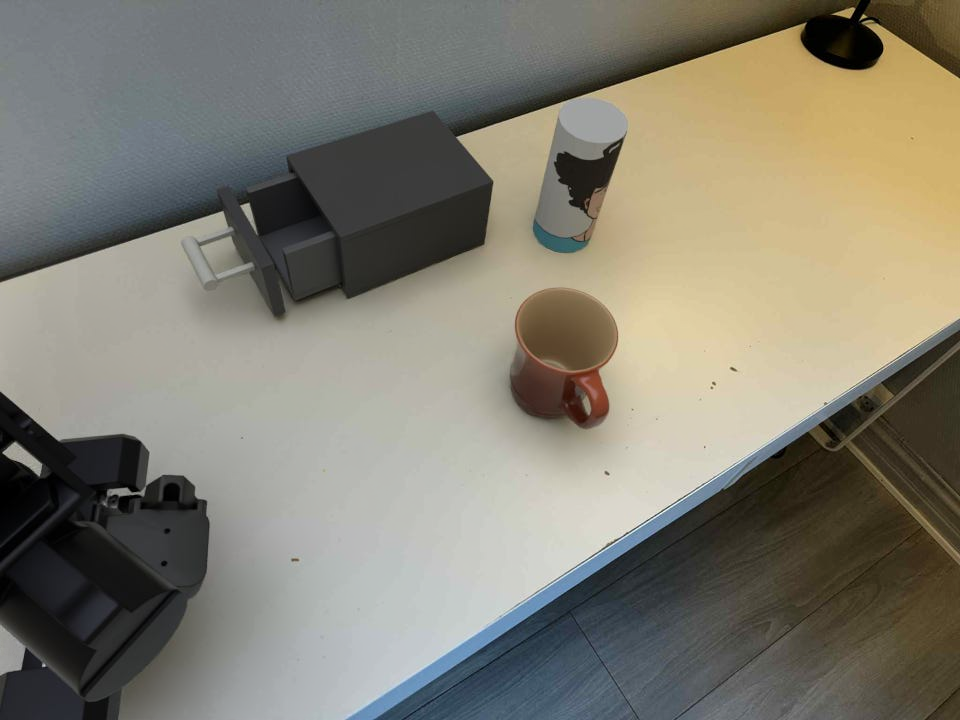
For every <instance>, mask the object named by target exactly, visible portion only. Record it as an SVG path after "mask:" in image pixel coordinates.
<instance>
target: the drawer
mask: <svg viewBox="0 0 960 720" xmlns="http://www.w3.org/2000/svg"><path fill="white" fill-rule="evenodd" d="M245 193H246V196H247V200H248V203H249V209H250V211H251V214H252V215H251V216H252V218H253V219H252V220H253V224H254V226H255V229H254V227H253V225H252V223H251V222H250V220H249V218H248V216H247V215H246V213H245V211H244V209H243V208H242V206H241V204H240V203H239V201H238V200H237V198H236V196H235V194H234V192H233V191H232V189H231V188H230V186H228V185H227V186H224V187H220V188H217V189H216V194H217V196H218V200H219V203H220V206H221V209H222V213H223V215H224V218H225V221H226V225H227V227H226V228H224V229H221V230H218V231H215V232H211V233H209V234H205V235H202V236H200V237H197V238H196V237H194V236H193V235H192V236H191V235H188V236H185V237H183V238H182V239H181V241H180V245H181V247H182V249H183V251H184V253H185V255H186V257H187V259H188V262H189V263H190V264H191V266H192V268H193V271H194V272H195V275H196V277H197V278H198V280H199V282H200V284H201V286H202V289H203V290H204V291H206V292H213V291H215V290H217V289H218V287H219V286H220V283H224V282H227V281H229V280H232V279H234V278H238V277H239V276H242V275H245V274H250V276H251V278H252V279H253V281H254V283H255V285H256V287H257V288H258V290H259V292H260V294H261V296H262V298H263V299H264V301H265V303H266V304H267V306H268V308H269V310H270V312H271V313H272V315H273V317H274V318H275V317H278V316H281V315H283V314H286V312H287V310H286V307H285V303H284V299H283V294H282V291H281V287H280V286H281V285H280V283H279V278H278V275H277V271H278V273H279V275H280V276H281V278H282V280H283V282H284V283H285V285H286V287H287V289H288V290H289V292H290V294H291V296H292V297H293V299H294V300H295V301H297V300H301V299H303V298H306V297H309V296H310V295H311V296H312V295H313V294H316V293H318V292H321V291H324V290H326V289H328V288H329V289H330V288H331V287H334V286H336V285H338V284H339V283H342V282H343V281H342V273H341V264H340V256H339V248H338V240H337V237H336V235H335V234H334V232H333V231H332V229H331V227H330V226H329V224H328V223H327V221H326V220H325V218H324V217H323V215H322V214H321V212H320V211H319V209H318V208H317V206H316V205H315V203H314V202H313V200H312V199H311V197H310V196H309V194H308V193H307V191H306V190H305V188H304V187H303V185H302V184H301V182H300V180H299V179H298V177H297V176H296V174H295V173H291V174H289V173H288V174H285V175H281V176H278V177H275V178H271V179H269V180H265V181H262V182H259V183H257V184H253V185H250V186H247V187H245ZM229 237H230V239H231V241H232V243H233V246H234V247H235V249H236V251H237V252H238V254H239V256H240V258H241V260H242V261H243V263H244V264H242V265H239V266H236V267H234V268H230V269H227V270H225V271H222V272H219V273H217V274H215V273H214V271H213V269H212V267H211V265H210V263H209V261H208V260H207V257H206V256H205V254H204V252H203V250H202V248H201V247H203V246H206V245H209V244H211V243H214V242H217V241H220V240H223V239H226V238H229ZM276 270H277V271H276Z"/></svg>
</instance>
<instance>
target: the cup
mask: <svg viewBox="0 0 960 720" xmlns="http://www.w3.org/2000/svg"><path fill="white" fill-rule="evenodd" d="M628 131H629V121H628V119H627V116H626V114H625V113H624V112H623V111H622V110H621V109H620V108H619V107H617V106H616V105H614V104H613V103H612V102H608V101H606V100H604V99H601V98H595V97H587V96H586V97H576V98H573V99H570V100H568V101H566V102H565V103H563V104H562V106H561V107H560V109H559V110H558V115H557V119H556V123H555V128H554V133H553V136H552V141H551V146H550V149H549V153H548V157H547V162H546V167H545V171H544V177H543V179H542V184H541V189H540V192H539V197H538V201H537V206H536V210H535V214H534V219H533V222H532V223H533V224H532V231H533V235H534V237H535V238H536V240H537V241H538V243H539V244H541V245H542V246H544V247H545V248H547V249H549V250H551V251H553V252H556V253H564V254H567V253H575V252H578V251H581V250H583V249H584V248H586V247H587V245H588V244H589V242H590V241H591V239H592V236H593V233H594V230H595V227H596V224H597V221H598V218H599V214H600V212H601V209H602V206H603V203H604V200H605V198H606V195H607V191H608V189H609V185H610V183H611V180H612V177H613V174H614V171H615V169H616V165H617V163H618V160H619V157H620V154H621V151H622V148H623V145H624V141H625V140H626V136H627V133H628Z"/></svg>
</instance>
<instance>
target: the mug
mask: <svg viewBox="0 0 960 720" xmlns="http://www.w3.org/2000/svg"><path fill="white" fill-rule="evenodd" d="M514 332H515V333H514V334H515V337H516V340H517V346H516V349H515V351H514V356H513V359H512V362H511V364H510V368H509V381H510V382H509V383H510V385H509V386H510V392H511V394H512V397H513V399H514V400H515V402H516V403H517V405H518V406H519V407H520V408H521V409H522V410H523V411H525V412H526V413H528V414H529V415H532V416H534V417H537V418H540V419H545V420H555V419H560V418H563V417H565V416H566V417H567V418H568V419H569V420H570V421H571V422H573V423H574V425H575V426H576V427H578V428H580V429H583V430H591V429H594V428H597V427H599V426H601V425H602V424H603V423H604V422H605V421H606V420H607V417H608V416H609V413H610V406H611V405H610V399H609V395H608V393H607V390H606V389H605V387H604V383H603V380H602V379H603V378H602V377H601V374H600V370H601V369H602V368H604V367H605V366H606V365H607V364H608V363H609V362H610V361H611V359H612V358H613V356H614V354H615V352H616V351H617V347H618V344H619V330H618V325H617V322H616V320H615V318H614V316H613V315H612V313H611V312H610V310H609V309H608V308H607V307H606V306H605V304H603V303H602V302H601V301H600V300H599V299H597V298H596V297H594V296H592V295H591V294H589V293H586V292H585V291H581V290H578V289H574V288H569V287H550V288H545V289H542V290H539V291H537V292H534V293H533V294H531V295H530V296H528V297H527V298H526V299H525V300H524V301H523V302H522V303H521V305H520V306H519V308H518V309H517V311H516V315H515V319H514ZM586 397H587V399H588V401H589V404H590V405H589V406H590V412H589V413H588V412H587V410H586V408H585V405H584V400H585V398H586Z"/></svg>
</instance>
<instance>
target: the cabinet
mask: <svg viewBox="0 0 960 720" xmlns="http://www.w3.org/2000/svg"><path fill="white" fill-rule="evenodd" d="M285 158H286V163H287V168H288V174H291V173H295V174H296V176H297V177H298V179H299V180H300V182H301V184H302V185H303V187H304V188H305V190H306V191H307V193H308V194H309V196H310V197H311V199H312V200H313V202H314V203H315V205H316V206H317V208H318V209H319V211H320V212H321V214H322V215H323V217H324V218H325V220H326V221H327V223H328V224H329V226H330V227H331V229H332V231H333V232H334V234H335V235H336V237H337V240H338V248H339V256H340V264H341V273H342V281H343V282H342V283H339V284H337V286H339V288H340V290H341V291H342V293H343V295H344V296H345V298H346V299H347V300H349V299H351V298H353V297H356V296H359V295H361V294H363V293H366V292H368V291H371V290H374V289H376V288H379V287H381V286H383V285H386V284H388V283H392V282H394V281H396V280H398V279H401V278H403V277H406V276H409V275H410V274H414V273H416V272H419V271H421V270H423V269H426V268H429V267H431V266H433V265H436V264H438V263H440V262H443V261H446V260H448V259H450V258H453V257H456V256H458V255H460V254H463V253H466V252H468V251H470V250H473V249H475V248H477V247H480V246H483V245H484V244H485V243H486V242H485V241H486V235H487V230H488V223H489V215H490V210H491V204H492V203H491V202H492V195H493V190H494V189H493V188H494V182H495V181H494V179H492V178H491V176H490V175H489V174H488V172H487V171H486V170H485V169H484V168H483V167H482V166H481V165H480V164H479V162H478V161H477V160H476V159H475V157H473V155H472V154H471V152H469V151H468V149H467V148H466V147H465V146H464V145H463V143H462V142H461V141H460V140H459V139H458V138H457V136H456V135H455V134H454V133H453V132H452V131H451V130H450V129H449V127H448V126H447V125H446V124H445V122H444V121H443V120H442V119H441V118H440V116H439V115H438V114H437V113H436V111H434V110H430V111H426V112H424V113H423V112H422V113H420V114H417V115H414V116H409V117H408V118H403V119H401V120H398V121H394V122H391V123H388V124H384V125H381V126H377V127H375V128H371V129H368V130H364V131H362V132H358V133H355V134H352V135H348V136H345V137H342V138H339V139H336V140H332V141H330V142H326V143H322V144H320V145H316V146H312V147H309V148H307V149H304V150H299V151H297V152H293V153H290V154H286V156H285Z"/></svg>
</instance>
